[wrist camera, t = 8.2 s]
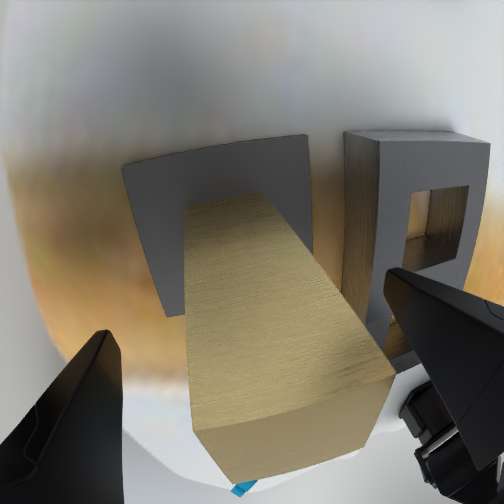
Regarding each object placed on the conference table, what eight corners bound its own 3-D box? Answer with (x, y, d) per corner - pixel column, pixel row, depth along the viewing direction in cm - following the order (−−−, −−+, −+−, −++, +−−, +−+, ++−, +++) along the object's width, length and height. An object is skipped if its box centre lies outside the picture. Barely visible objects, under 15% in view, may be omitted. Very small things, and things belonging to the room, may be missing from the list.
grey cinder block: (453, 132, 14) (490, 143, 11) (417, 331, 21) (437, 355, 19) (343, 131, 13) (379, 141, 10) (334, 362, 20) (349, 392, 18)
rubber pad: (304, 134, 12) (307, 135, 12) (310, 282, 16) (313, 286, 16) (123, 166, 11) (121, 167, 11) (167, 312, 15) (166, 317, 15)
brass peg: (262, 191, 13) (396, 372, 4) (269, 258, 15) (363, 446, 6) (185, 206, 12) (193, 430, 4) (200, 272, 14) (232, 484, 6)
